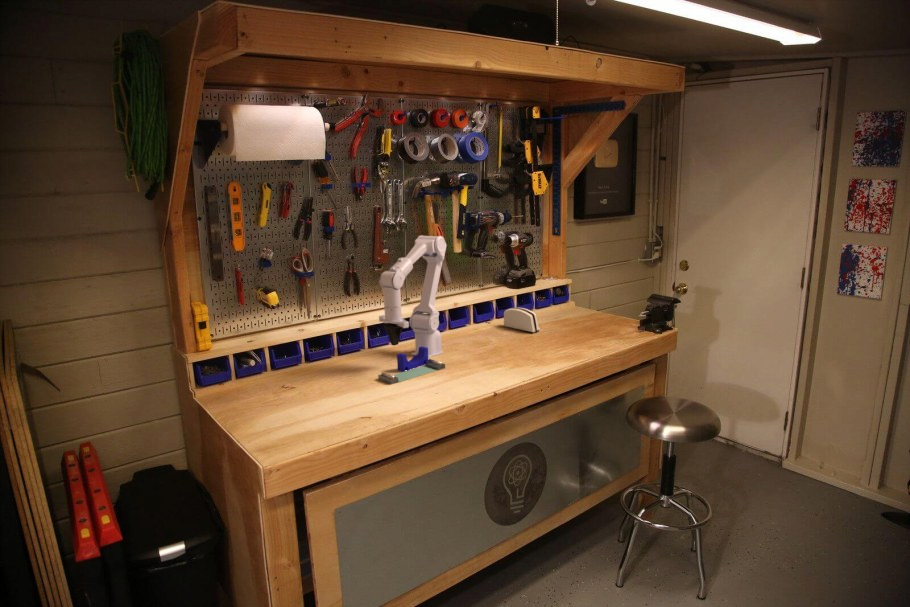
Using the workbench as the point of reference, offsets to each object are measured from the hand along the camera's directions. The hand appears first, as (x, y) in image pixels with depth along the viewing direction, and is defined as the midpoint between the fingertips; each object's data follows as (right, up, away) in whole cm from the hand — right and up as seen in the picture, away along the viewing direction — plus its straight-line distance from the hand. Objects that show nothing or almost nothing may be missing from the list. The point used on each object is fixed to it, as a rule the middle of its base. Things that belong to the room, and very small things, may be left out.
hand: (394, 344), depth 211 cm
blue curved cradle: (+6, -8, +3) cm, 10 cm away
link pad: (+7, -9, -5) cm, 13 cm away
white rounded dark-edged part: (+49, +3, +48) cm, 69 cm away
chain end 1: (-1, -11, -12) cm, 16 cm away
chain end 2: (+14, -8, +1) cm, 16 cm away
